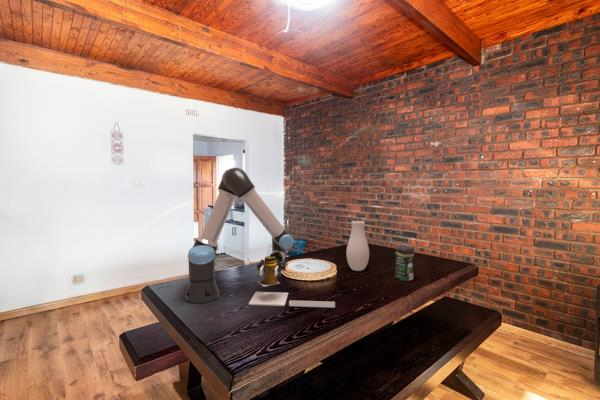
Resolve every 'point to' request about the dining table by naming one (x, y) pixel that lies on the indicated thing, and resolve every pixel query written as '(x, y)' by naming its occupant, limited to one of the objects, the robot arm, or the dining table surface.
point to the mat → (269, 298)
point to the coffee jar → (404, 263)
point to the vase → (357, 247)
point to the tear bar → (311, 303)
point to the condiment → (269, 272)
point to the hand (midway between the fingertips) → (268, 272)
